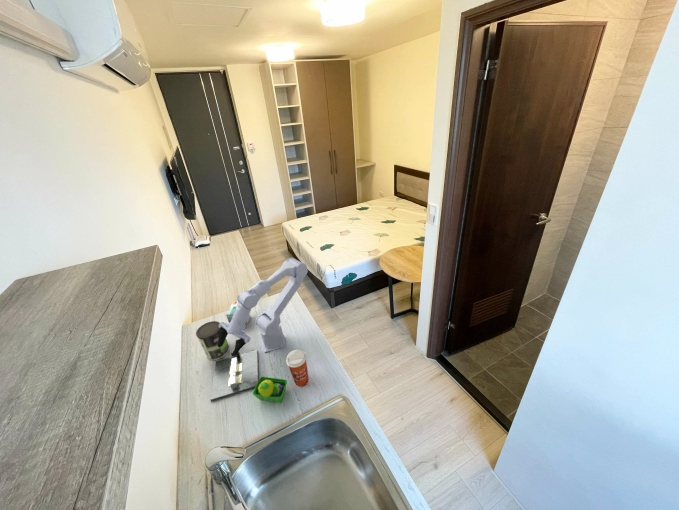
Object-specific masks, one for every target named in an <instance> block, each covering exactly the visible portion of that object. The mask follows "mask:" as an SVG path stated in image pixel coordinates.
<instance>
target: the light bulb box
mask: <svg viewBox="0 0 679 510" xmlns="http://www.w3.org/2000/svg"><path fill="white" fill-rule="evenodd" d="M237 304H238V300H235V301H232V302H231V305H230V306H229V308H228V309H227V312H226V314H225V316H226V318H227V321H228V324H229V325H230V322H231V320H232V317H233V315H234V312H235V310H236V307H237ZM250 318H251V313H250V314H249V316H248V319H247V321H246V324H245V326H244V329H243V331H245V329H246V327H247V324H248V322H249V321H250Z"/></svg>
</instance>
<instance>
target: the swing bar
mask: <svg viewBox="0 0 679 510" xmlns="http://www.w3.org/2000/svg"><path fill="white" fill-rule="evenodd" d="M231 357H232V361H231V373H230V386H231V389H235V388H237V380H238V360H239V359H238V356H237V355H235V356H232V355H231Z"/></svg>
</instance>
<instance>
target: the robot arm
mask: <svg viewBox="0 0 679 510" xmlns="http://www.w3.org/2000/svg"><path fill="white" fill-rule="evenodd" d="M307 274H308V266H307V264H306V263H304V262H301V261H300V260H297V259H296V258H294V257H288V258H287V259H286V260H285V261H283V263H282V264H281V267H279V268H278V269H277V270H276V271H275V272H274V273H273V274H271V275H270V276H269V277H268V278H267V279H261V280H258V281H257V283H256V284H254V285H253V286H252V287H250V288H248V289H247V290H244V291H241V292H240V294H239V295H237V297H236V299H237V300H236V301H238V304H237V307H236V310H235V312H234V315H233V317H232V320H231V322H230V324H229V323H227V322H224V321H221V322H219V323H220V324H219V327H220V329H218V331H217V332H218V347H221V346H222V345H223V344H224V341H225V339H226V340H227V337H228V335H233V336H235V337H237V338H239V339H236V340H235V345H234V347H233V348H234V349H233V350H234V351H233V350H232V351H233V353H232V355H231V357H232V356H235V355H237V353H238V352H239V353H240V351H241V349H243V347H244V346H245V345H246V344H247V343H249V342H250V340H251V338H252V337H251V336H249V335H248V334H247V333H245V331H244V330H245V329H244V326H245V324H246V321H247V319H248V316H249V314H250V315H251V311H252V309H253V308H255V307H256V306H257V305H258V302H259V301H260V299H262V297H264V296H265V295H267V294H268V293H269V292H270V291H271V288H272V286H274V285H276V283H278V282H280V281H281V280H283V279H284V278H285V277H289V278H288V279H289V280H288V282H287V283H286V285H284V287H283V289H282V290H281V291H280V293H279V294H278V296H277V298H276V299H275V300H274V301H273V303H272V305H271V306H270V307H269V308H268V309H264V310H263V311H262V312H261V314H258V316H257V317H256V319H255V325H256V326H257V327H259V332H260V335H261V338H262V341H263V350H264V353H268V352H271V351H274V350H280V349H283V348H285V347H286V341H285V339H286V338H285V335H284V332H283V329H282V328H283V327H282V325H280V324H281V322H282V321H281V314H282V313H283V311H284V310H285V308H286V307H287V305H288V304H289V302H290V301H291V300H292V299H293V297H294V295H296V292H297V291H298V290H299V288H300V287H301V285H302V283H303V281H304V279H305V277H306V275H307ZM243 329H244V330H243Z"/></svg>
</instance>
